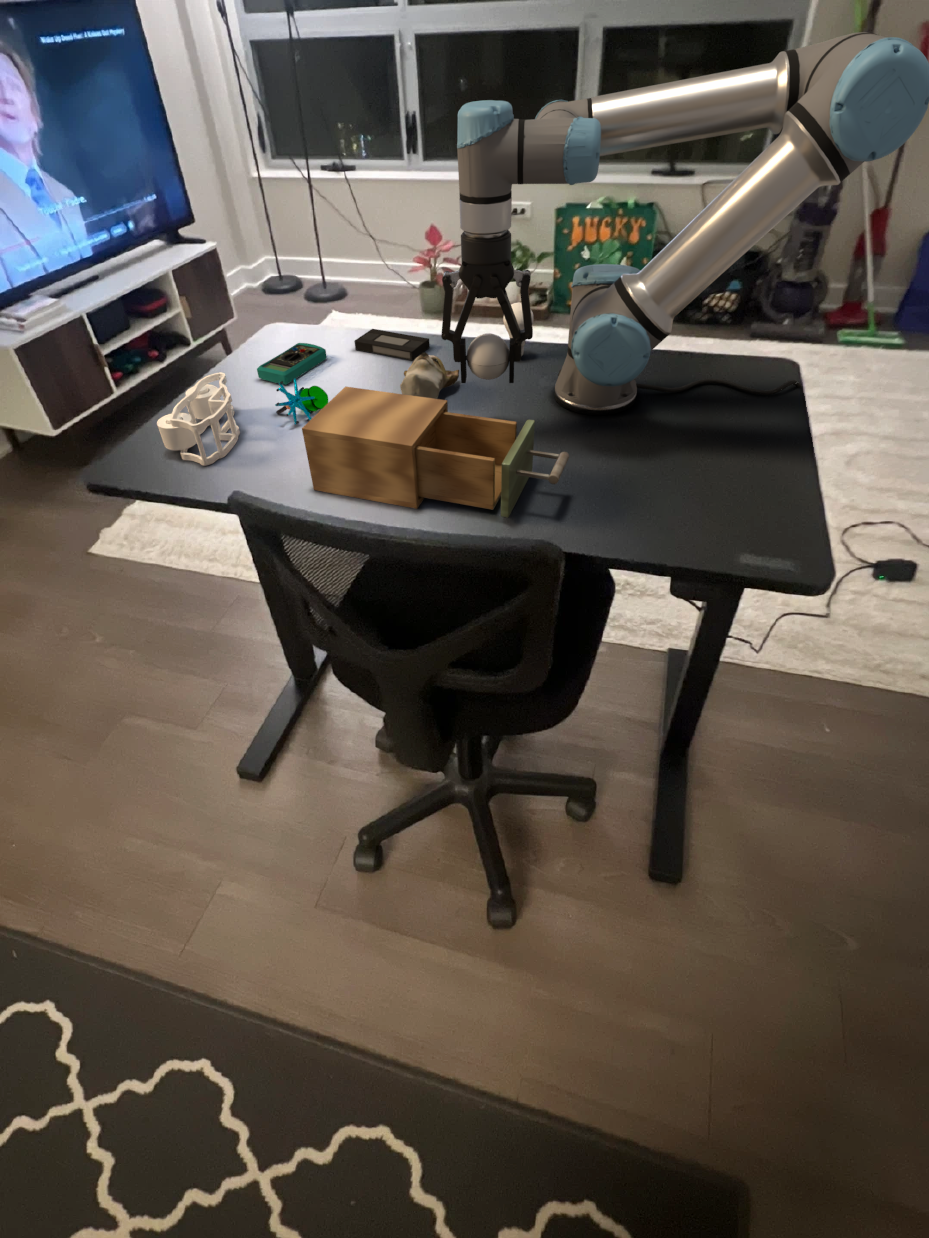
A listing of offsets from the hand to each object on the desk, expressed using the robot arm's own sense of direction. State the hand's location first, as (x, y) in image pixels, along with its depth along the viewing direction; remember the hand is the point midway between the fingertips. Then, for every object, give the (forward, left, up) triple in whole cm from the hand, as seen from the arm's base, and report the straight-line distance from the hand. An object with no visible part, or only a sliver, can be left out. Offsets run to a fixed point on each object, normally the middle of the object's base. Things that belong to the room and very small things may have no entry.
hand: (487, 379), depth 120 cm
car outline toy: (+49, +4, -9) cm, 50 cm away
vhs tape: (+22, -35, -9) cm, 43 cm away
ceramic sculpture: (+12, -13, -9) cm, 20 cm away
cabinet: (+16, +16, -9) cm, 25 cm away
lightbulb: (-5, -31, -9) cm, 33 cm away
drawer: (-1, +21, -8) cm, 22 cm away
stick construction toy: (+35, -5, -9) cm, 37 cm away
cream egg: (0, 0, -1) cm, 1 cm away
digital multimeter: (+41, -24, -9) cm, 49 cm away
